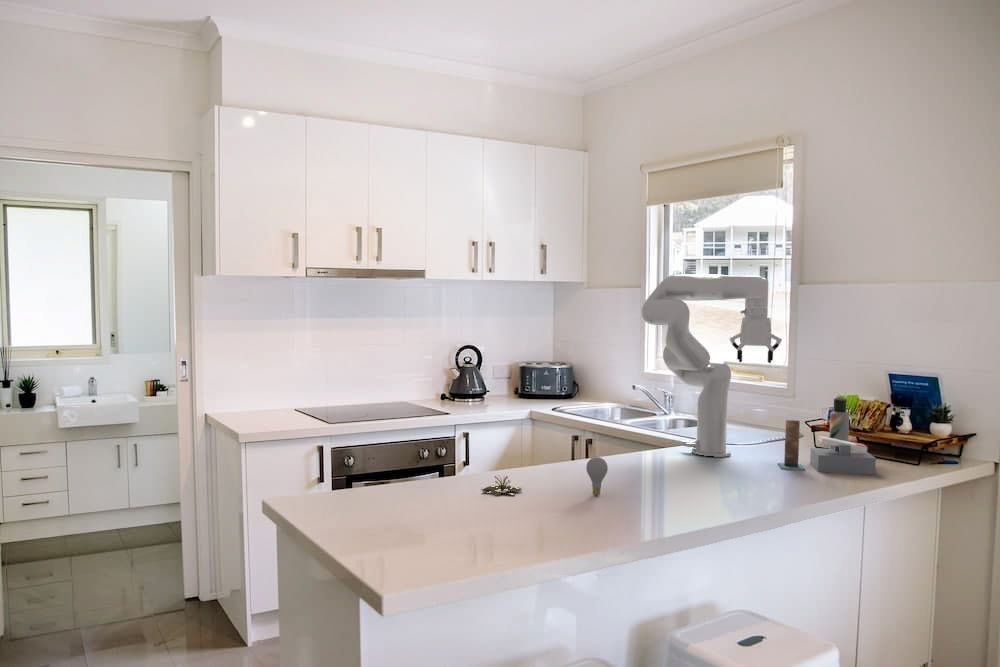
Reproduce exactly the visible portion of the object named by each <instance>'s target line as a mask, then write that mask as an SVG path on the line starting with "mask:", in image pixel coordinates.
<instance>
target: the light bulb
mask: <svg viewBox="0 0 1000 667" xmlns="http://www.w3.org/2000/svg"><path fill="white" fill-rule="evenodd" d="M585 466H586V468H585V469H586V473H587V474H588V476H589V478H590V480H591V487H592V494H593V495H594V496H595V495H598V496H599V495H601V488H602V482H603V480H604V478H605V477H606V475H607V473H608V469H609V468H608V467H609V466H608V463H607V461H606V460H605V459H604V458H602V457H599V456H596V457H592V458H590V459H589V460H588V462H587V463H586V465H585Z"/></svg>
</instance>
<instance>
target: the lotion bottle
mask: <svg viewBox="0 0 1000 667" xmlns="http://www.w3.org/2000/svg"><path fill="white" fill-rule="evenodd" d="M847 401H848V400H847V399H846V398H844V397H838V396H837V397H834V398H833V409H832V410H833V411H831V412H830V414H829V415H830V416H829V419H830V420H829V438H833V439H838V440H843V441H848V442H849V431H850V413H849V412H848V411H847V404H848V403H847ZM828 445H829V444H828ZM828 449H834V445H829V447H828Z"/></svg>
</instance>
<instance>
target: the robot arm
mask: <svg viewBox="0 0 1000 667" xmlns="http://www.w3.org/2000/svg"><path fill="white" fill-rule="evenodd" d="M737 299H738V300H740V299H742V300H743V299H744V308H743V309H740V314H742V315H744V316H742V319H741V325H740V332H739V333H737V334H735V335H733V336H731V337H729V341H730V343H731V345H732V347H734V348H735V349H736V350H737V354H736V355H737V356H736V360H738V362H739V363H742V362H743V350H742V349H743V348H744V347H745V346H747V347H748V346H751V347H767V349H768V351H767V363H769V364H772V361H773V359H774V351H775V350H776V349H777V348H778V347H780V345H781V343H782V341H783V339H782V338H780V337H778V336H776V335H775V334H773V333H772V322H771V318H770V317H768V316H769V315H768V312H769V309H768V308H769V305H768V304H769V303H768V302H769V279H767V278H765V277H761V276H760V275H725V274H675V275H674V274H672V275H669V276H666V277H665V278H664V279H663V280H662V281H661V282H660V283H659V284H658V285H657V286H656V287H655V288H654V290H653V291H652V292H651V293H650V295H649V296H648V297H647V298H646V300H645V302H643V305H642V308H641V317H642V318H643V321H645V323H647V324H649V325H654V326H667V330H666V335H665V344H666V345H665V347H664V348H663V352H662V357H663V358H662V359H663V361H664V362H663V363H664V364H665V365H666V367H667V368H668V369H669V370H670V371H671V372H672V373H674V375H675V376H676V377H678V379H679V380H681V381H682V382H683V383H684V384H686V385H688V386H692V387H698V388H702V390H701V392H700V394H699V396H698V397H697V418H696V422H697V423H696V438H695V439H694V440H693V439H692V440H690V441H689V440H682V447H686V448H692V449H691V453H692V452H693V453H695V454H694V455H696V454H699V455H704V456H703V457H706V456H714V457H713V458H726V456H727V457H729V456H731V454H732V451H731V450H730V449H729V450H728V449H727V421H728V394H729V388H730V384H731V381H732V369H731V368H730V366H729V365H728V364H727V363H726V362H724V361H722V360H717V359H711V355H710V353H709V351H708V349H707V348H706V347H705V346H704V345H703V344H702V343H701V342H700V341H699V340H698V339H697V338H696V337H695V336H693V334H692V333H691V331H690V327H689V326H690V315H691V313H690V308H689V306H688V304H687V303H686V302H684V301H688V302H689V301H691V302H693V301H695V302H697V301H728V300H737ZM737 339H739V342H740V344H738V343H736V340H737ZM772 340H775V343H774V344H773V345H772ZM693 453H692V454H693ZM699 455H698V456H699Z"/></svg>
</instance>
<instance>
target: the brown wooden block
mask: <svg viewBox="0 0 1000 667" xmlns="http://www.w3.org/2000/svg"><path fill="white" fill-rule="evenodd" d="M800 423H801V422H800V420H797V419H796V420H795V419H786V420H785V432H784V433H785V434H784V435H785V436H784V438H785V439H784V461H783V463H784V465H785V466H789V467H798V464H799V456H800V454H799V450H800Z"/></svg>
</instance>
